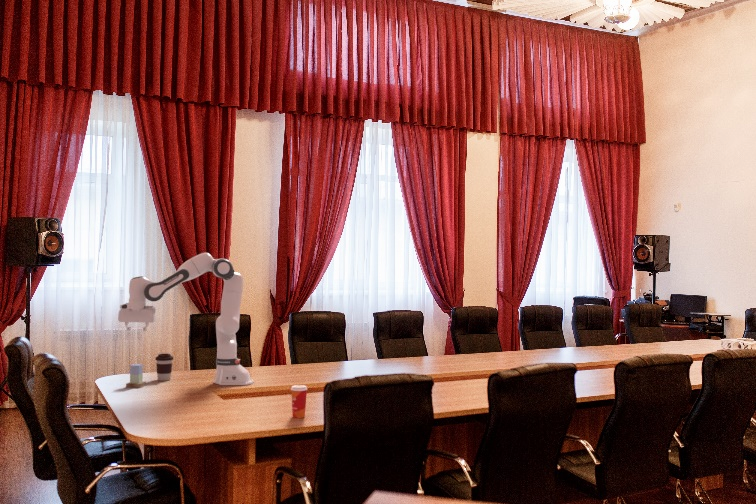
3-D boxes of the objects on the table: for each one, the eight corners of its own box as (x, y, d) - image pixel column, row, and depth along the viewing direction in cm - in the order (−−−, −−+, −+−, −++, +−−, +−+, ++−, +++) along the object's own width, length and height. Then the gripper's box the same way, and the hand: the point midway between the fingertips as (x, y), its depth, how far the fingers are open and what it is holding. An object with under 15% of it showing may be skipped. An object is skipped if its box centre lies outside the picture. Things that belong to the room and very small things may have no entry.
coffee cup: (167, 381, 400) (168, 355, 400) (151, 380, 402) (152, 355, 402) (175, 378, 410) (176, 353, 410) (160, 378, 412) (160, 352, 412)
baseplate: (145, 385, 389) (145, 381, 389) (140, 387, 381) (140, 384, 381) (132, 384, 390) (132, 381, 390) (125, 387, 382) (126, 383, 382)
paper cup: (290, 414, 323) (291, 384, 323) (307, 414, 324) (307, 384, 324) (289, 418, 315) (290, 388, 315) (306, 418, 316) (307, 388, 316)
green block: (142, 381, 388) (142, 373, 388) (138, 383, 383) (138, 374, 383) (133, 381, 388) (133, 372, 388) (130, 383, 383) (130, 374, 383)
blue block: (142, 373, 388) (142, 364, 388) (138, 374, 383) (139, 365, 383) (133, 372, 388) (133, 363, 388) (130, 374, 383) (130, 365, 383)
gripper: (157, 305, 388) (157, 330, 388) (122, 304, 390) (121, 329, 389) (153, 306, 382) (152, 331, 382) (117, 305, 383) (116, 330, 383)
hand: (136, 330), depth 386 cm, fingers open, 8 cm apart
